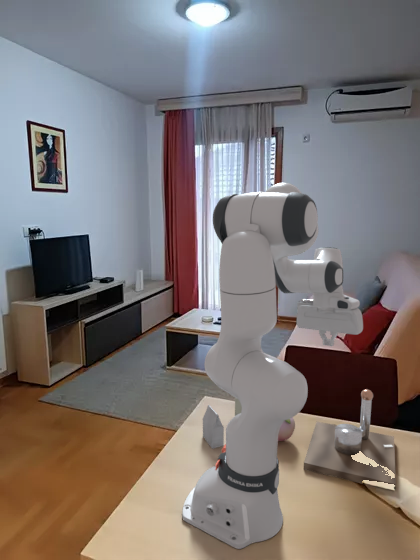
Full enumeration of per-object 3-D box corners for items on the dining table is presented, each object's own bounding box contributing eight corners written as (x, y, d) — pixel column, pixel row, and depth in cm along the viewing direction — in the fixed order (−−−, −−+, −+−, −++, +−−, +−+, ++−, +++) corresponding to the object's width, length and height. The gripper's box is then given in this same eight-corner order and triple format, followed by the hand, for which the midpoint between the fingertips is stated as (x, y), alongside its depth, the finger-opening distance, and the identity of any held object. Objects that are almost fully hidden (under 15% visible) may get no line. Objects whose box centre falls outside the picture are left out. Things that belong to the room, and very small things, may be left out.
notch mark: (384, 447, 113) (384, 446, 113) (383, 445, 114) (383, 444, 114) (393, 447, 113) (393, 446, 113) (391, 445, 114) (391, 444, 114)
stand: (303, 469, 107) (303, 462, 107) (316, 427, 127) (316, 421, 127) (395, 491, 99) (395, 484, 98) (393, 442, 119) (394, 436, 118)
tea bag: (212, 448, 117) (211, 416, 115) (202, 436, 123) (202, 405, 121) (223, 445, 118) (223, 413, 116) (214, 433, 124) (213, 403, 122)
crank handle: (351, 458, 108) (354, 407, 105) (329, 445, 114) (331, 397, 111) (378, 440, 116) (382, 392, 113) (356, 429, 121) (359, 384, 119)
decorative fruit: (301, 441, 120) (302, 409, 118) (283, 452, 115) (284, 419, 113) (275, 428, 127) (276, 398, 125) (258, 438, 121) (258, 407, 119)
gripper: (292, 299, 128) (293, 342, 130) (357, 304, 115) (357, 352, 116) (302, 297, 133) (302, 338, 134) (365, 301, 120) (365, 347, 121)
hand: (328, 345), depth 125 cm, fingers closed
